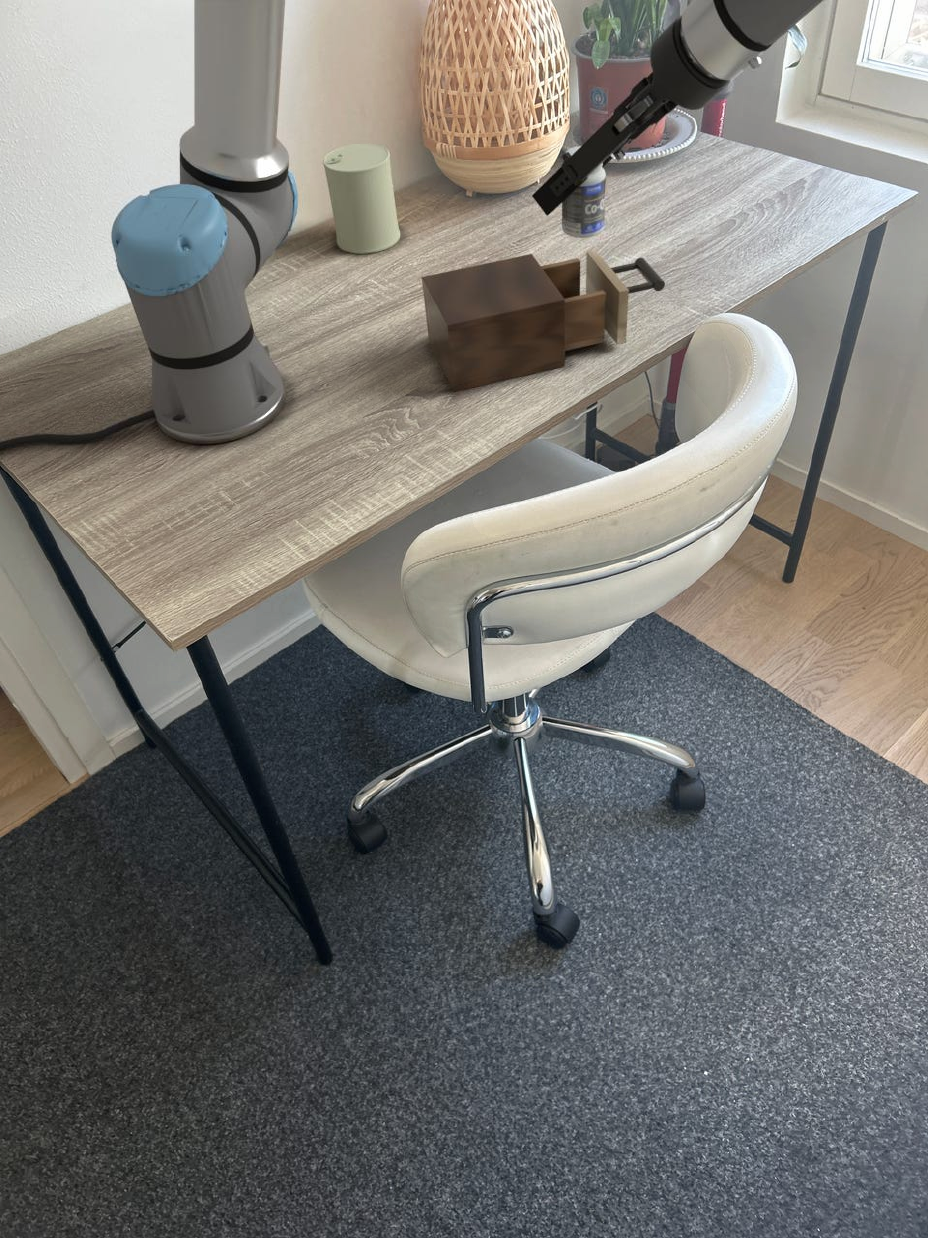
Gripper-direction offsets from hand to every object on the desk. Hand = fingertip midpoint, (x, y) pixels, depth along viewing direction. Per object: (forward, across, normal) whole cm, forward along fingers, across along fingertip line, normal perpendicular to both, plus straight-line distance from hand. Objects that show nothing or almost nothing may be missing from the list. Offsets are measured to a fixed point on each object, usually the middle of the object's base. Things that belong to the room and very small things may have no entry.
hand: (554, 193), depth 109 cm
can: (+37, +9, +14) cm, 41 cm away
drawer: (+8, 0, -14) cm, 16 cm away
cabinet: (+14, -8, -9) cm, 19 cm away
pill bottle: (0, 0, -5) cm, 5 cm away
